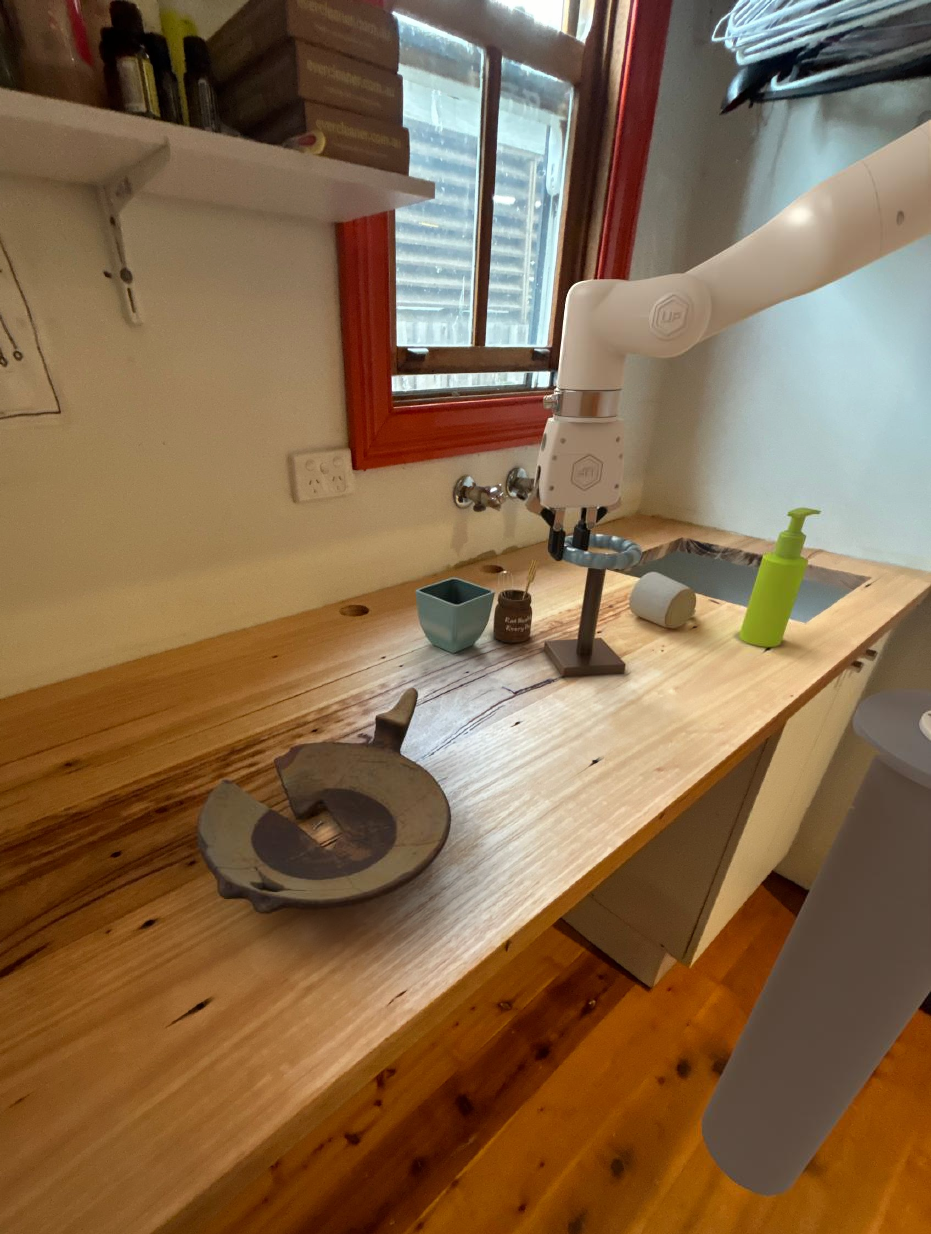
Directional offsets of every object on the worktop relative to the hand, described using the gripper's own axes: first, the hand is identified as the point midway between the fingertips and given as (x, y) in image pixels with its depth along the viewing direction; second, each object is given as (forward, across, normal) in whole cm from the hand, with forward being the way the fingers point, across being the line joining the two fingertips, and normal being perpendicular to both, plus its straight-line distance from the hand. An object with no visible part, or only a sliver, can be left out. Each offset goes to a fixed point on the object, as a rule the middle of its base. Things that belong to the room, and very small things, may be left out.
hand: (566, 556), depth 82 cm
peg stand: (+16, +5, 0) cm, 17 cm away
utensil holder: (+16, -3, +10) cm, 19 cm away
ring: (-1, +4, 0) cm, 4 cm away
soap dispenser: (+16, +36, +4) cm, 39 cm away
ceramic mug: (+16, +24, +13) cm, 31 cm away
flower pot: (+16, -13, +8) cm, 23 cm away
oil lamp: (+16, -31, -32) cm, 48 cm away
